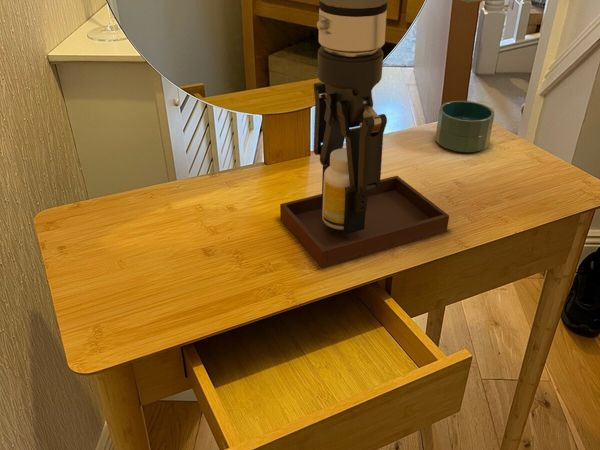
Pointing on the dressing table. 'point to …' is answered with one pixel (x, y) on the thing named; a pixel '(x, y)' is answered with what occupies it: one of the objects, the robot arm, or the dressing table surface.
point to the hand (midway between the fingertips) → (342, 218)
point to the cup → (464, 126)
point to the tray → (366, 223)
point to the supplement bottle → (335, 189)
